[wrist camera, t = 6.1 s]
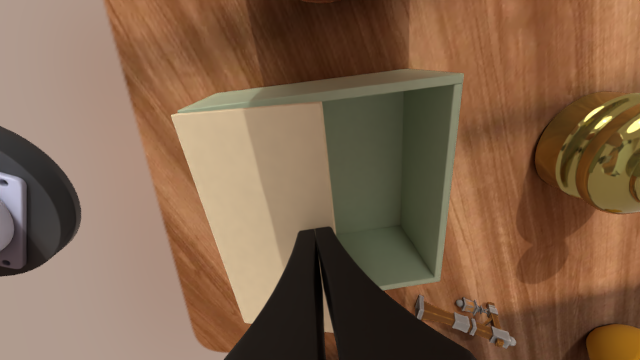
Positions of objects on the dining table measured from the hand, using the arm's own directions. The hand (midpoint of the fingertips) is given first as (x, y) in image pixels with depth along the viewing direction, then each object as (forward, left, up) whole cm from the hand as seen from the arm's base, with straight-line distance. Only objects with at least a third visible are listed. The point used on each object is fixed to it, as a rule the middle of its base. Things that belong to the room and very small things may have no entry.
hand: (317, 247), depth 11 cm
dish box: (+1, +1, -8) cm, 8 cm away
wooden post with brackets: (+18, -7, -8) cm, 21 cm away
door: (-2, -1, -1) cm, 2 cm away
